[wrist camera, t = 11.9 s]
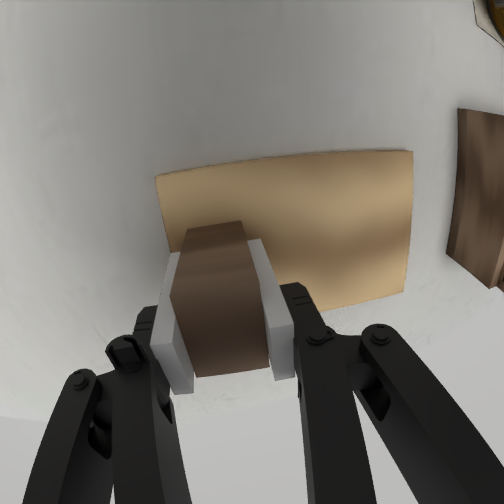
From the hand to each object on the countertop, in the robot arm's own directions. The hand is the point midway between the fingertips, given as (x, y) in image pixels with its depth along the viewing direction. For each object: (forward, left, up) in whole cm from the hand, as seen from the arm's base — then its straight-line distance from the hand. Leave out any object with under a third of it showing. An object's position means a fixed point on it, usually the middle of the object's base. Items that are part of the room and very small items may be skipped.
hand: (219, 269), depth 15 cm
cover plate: (0, +5, -3) cm, 6 cm away
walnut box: (-2, +27, -3) cm, 27 cm away
